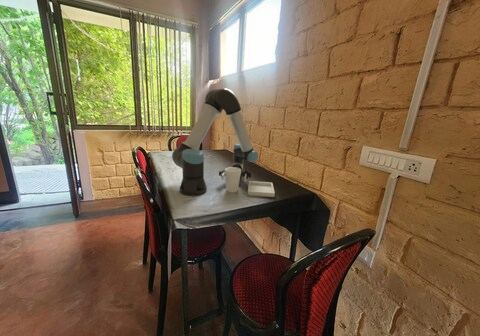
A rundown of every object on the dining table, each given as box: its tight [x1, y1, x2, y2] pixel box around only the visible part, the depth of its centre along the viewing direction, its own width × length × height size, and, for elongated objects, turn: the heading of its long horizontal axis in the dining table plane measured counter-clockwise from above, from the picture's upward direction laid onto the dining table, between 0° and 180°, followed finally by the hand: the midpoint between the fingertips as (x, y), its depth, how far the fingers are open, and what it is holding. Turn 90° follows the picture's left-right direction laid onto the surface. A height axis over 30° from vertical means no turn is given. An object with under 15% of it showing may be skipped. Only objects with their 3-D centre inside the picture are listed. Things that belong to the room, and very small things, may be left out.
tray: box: [247, 180, 276, 198], centre depth 122 cm, size 15×18×2 cm
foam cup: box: [224, 166, 242, 193], centre depth 119 cm, size 10×9×13 cm
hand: (233, 178), depth 119 cm, fingers open, 13 cm apart
